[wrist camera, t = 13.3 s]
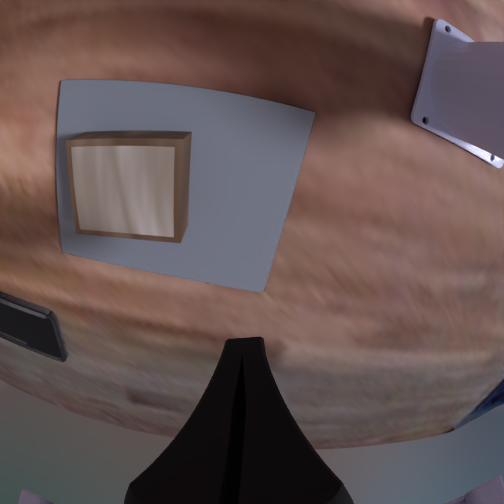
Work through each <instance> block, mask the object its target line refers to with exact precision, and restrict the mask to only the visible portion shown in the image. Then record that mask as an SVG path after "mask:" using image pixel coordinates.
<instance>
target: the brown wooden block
mask: <svg viewBox="0 0 504 504" xmlns="http://www.w3.org/2000/svg"><path fill="white" fill-rule="evenodd" d="M191 139H192V132H185V131H145V130H132V131H93V132H85V133H82V134H80V135H77V136H75V137H72V138H70V139H68V140H66V151H67V165H68V176H69V186H70V195H71V202H72V210H73V217H74V223H75V229H76V234H83V235H94V236H105V237H116V238H127V239H138V240H149V241H160V242H171V243H181V241H182V239H183V236H184V234H185V231H186V229H187V227H188V218H189V181H190V158H191Z"/></svg>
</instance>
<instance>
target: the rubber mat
mask: <svg viewBox="0 0 504 504" xmlns="http://www.w3.org/2000/svg"><path fill="white" fill-rule="evenodd" d="M314 117H315V112H312V111H309V110H305V109H301V108H298V107H294V106H290V105H286V104H282V103H278V102H273V101H269V100H265V99H260V98H255V97H251V96H246V95H241V94H235V93H230V92H224V91H218V90H212V89H206V88H199V87H192V86H184V85H175V84H166V83H156V82H143V81H127V80H95V79H82V80H61V88H60V97H59V108H58V123H57V148H56V175H57V201H58V216H59V228H60V237H61V246H62V253H66V254H71V255H75V256H79V257H84V258H88V259H92V260H97V261H101V262H106V263H111V264H115V265H120V266H124V267H129V268H134V269H139V270H143V271H148V272H153V273H158V274H163V275H168V276H173V277H178V278H183V279H189V280H194V281H199V282H204V283H210V284H215V285H221V286H226V287H232V288H238V289H243V290H249V291H255V292H261V293H263V291H264V288H265V285H266V282H267V278H268V275H269V272H270V269H271V265H272V262H273V259H274V255H275V252H276V249H277V245H278V242H279V239H280V235H281V232H282V229H283V225H284V222H285V219H286V215H287V212H288V209H289V205H290V202H291V198H292V195H293V191H294V188H295V185H296V181H297V178H298V174H299V171H300V167H301V164H302V160H303V157H304V153H305V149H306V146H307V142H308V139H309V135H310V132H311V128H312V124H313V121H314ZM132 130H145V131H185V132H192V139H191V158H190V181H189V218H188V227H187V229H186V231H185V234H184V236H183V239H182V241H181V243H171V242H160V241H149V240H138V239H127V238H116V237H105V236H94V235H83V234H76V229H75V223H74V217H73V210H72V202H71V195H70V186H69V176H68V165H67V151H66V140H68V139H70V138H72V137H75V136H77V135H80V134H82V133H85V132H93V131H132Z"/></svg>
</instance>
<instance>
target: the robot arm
mask: <svg viewBox="0 0 504 504" xmlns="http://www.w3.org/2000/svg"><path fill="white" fill-rule="evenodd" d="M445 27H446V28H447V29H448V32H446V30H445ZM423 117H425V118H426V122H425V123H423V122H422V119H423ZM411 120H412V122H413V123H414V124H416V125H418V126H421V127H423V128H425V129H427V130H429V131H431V132H433V133H435V134H437V135H439V136H441V137H443V138H445V139H447V140H449V141H451V142H453V143H455V144H456V145H458V146H460V147H462V148H464V149H466V150H467V151H469V152H471V153H473V154H474V155H476V156H478V157H480V158H481V159H483V160H485V161H486V162H488V163H489V164H491V165H493V166H494V167H496V168H501V167H502V165H503V162H504V42H475V41H474V40H472V39H471V38H470V37H468V36H467V35H465V34H464V33H462V32H461V31H459V30H458V29H456V28H455V27H453V26H452V25H450V24H449V23H447V22H445V21H444V20H442V19H436V20H434V22H433V27H432V32H431V37H430V42H429V46H428V51H427V55H426V59H425V64H424V68H423V72H422V76H421V80H420V84H419V87H418V91H417V95H416V98H415V102H414V105H413V109H412V112H411ZM490 156H491V159H490ZM19 504H53V503H52V502H50V501H48V500H46V499H44V498H42V497H40V496H38V495H36V494H34V493H31V492H29V491H27V490H25V489H22V493H21V496H20V501H19ZM124 504H354V503H353V500H352V498H351V497H350V495H349V493H348V491H347V490H346V488H345V487H344V485H343V483H342V481H341V480H340V479H339V478H338V477H337V476H336V475H335V474H334V473H333V472H332V471H331V469H330V468H329V467H328V466H327V465H326V464H325V463H324V461H323V460H322V459H321V458H320V456H319V455H318V454H317V452H316V451H315V450H314V448H313V447H312V445H311V444H310V443H309V441H308V440H307V438H306V437H305V436H304V434H303V433H302V431H301V430H300V428H299V426H298V425H297V423H296V422H295V420H294V418H293V416H292V415H291V413H290V411H289V409H288V408H287V406H286V404H285V402H284V400H283V398H282V396H281V394H280V392H279V389H278V387H277V385H276V382H275V380H274V377H273V375H272V372H271V370H270V367H269V364H268V360H267V357H266V352H265V345H264V339H263V338H262V337H250V338H237V339H228V340H227V341H226V342H225V345H224V349H223V352H222V354H221V357H220V360H219V362H218V365H217V367H216V369H215V372H214V374H213V376H212V378H211V380H210V382H209V384H208V386H207V388H206V390H205V392H204V394H203V396H202V398H201V399H200V401H199V403H198V405H197V406H196V408H195V410H194V411H193V413H192V415H191V416H190V418H189V419H188V421H187V422H186V423H185V425H184V426H183V428H182V429H181V430H180V432H179V433H178V434H177V436H176V437H175V438H174V440H173V441H172V442H171V443H170V444H169V446H168V447H167V448H166V449H165V450H164V451H163V452H162V453H161V454H160V456H159V457H158V458H157V459H156V460H155V461H154V462H153V463H152V464H151V465H150V466H149V467H148V468H147V469H146V470H145V471H144V472H142V473H141V474H140V475H139V476H138V477H137V478H136V479H135V480H134V481H132V482H131V483H130V484H129V487H128V490H127V493H126V496H125V500H124ZM446 504H504V484H503V480H502V477H501V476H500V475H499V476H497V477H495V478H493V479H492V480H490V481H488V482H486V483H484V484H482V485H480V486H479V487H477V488H475V489H473V490H471V491H469V492H468V493H466V494H465V495H464V496H461V497H459V498H457V499H455V500H453V501H450V502H448V503H446Z"/></svg>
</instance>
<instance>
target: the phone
mask: <svg viewBox="0 0 504 504" xmlns="http://www.w3.org/2000/svg"><path fill="white" fill-rule="evenodd" d="M0 337H1V338H3V339H6V340H8V341H10V342H12V343H15V344H17V345H19V346H21V347H24V348H26V349H29V350H31V351H34V352H36V353H39V354H41V355H44V356H46V357H49V358H51V359H54V360H57V361H60V362H65V360H66V358H67V356H68V352H67V349H66V346H65V342H64V339H63V335H62V332H61V328H60V324H59V320H58V318H57V316H56V315H55V313H54V312H52V311H51V310H49V309H47V308H44V307H42V306H39V305H36V304H33V303H30V302H27V301H25V300H22V299H19V298H16V297H14V296H11V295H8V294H6V293H3V292H1V291H0ZM61 338H62V340H61ZM62 341H63V343H62Z"/></svg>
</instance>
